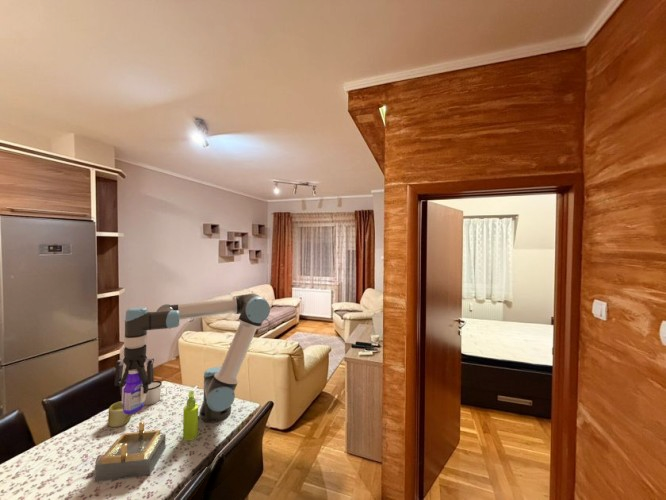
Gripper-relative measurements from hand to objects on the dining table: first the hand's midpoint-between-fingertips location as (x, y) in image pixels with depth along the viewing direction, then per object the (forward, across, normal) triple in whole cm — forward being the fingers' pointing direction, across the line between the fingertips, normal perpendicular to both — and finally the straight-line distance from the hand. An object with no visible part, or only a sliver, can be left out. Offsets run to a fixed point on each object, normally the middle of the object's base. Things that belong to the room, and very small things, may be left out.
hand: (133, 401), depth 114 cm
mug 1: (+21, +16, -22) cm, 34 cm away
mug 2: (+21, +10, -41) cm, 47 cm away
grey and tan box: (+21, -2, +7) cm, 22 cm away
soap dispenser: (+21, -20, -7) cm, 30 cm away
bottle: (+4, 0, 0) cm, 4 cm away
